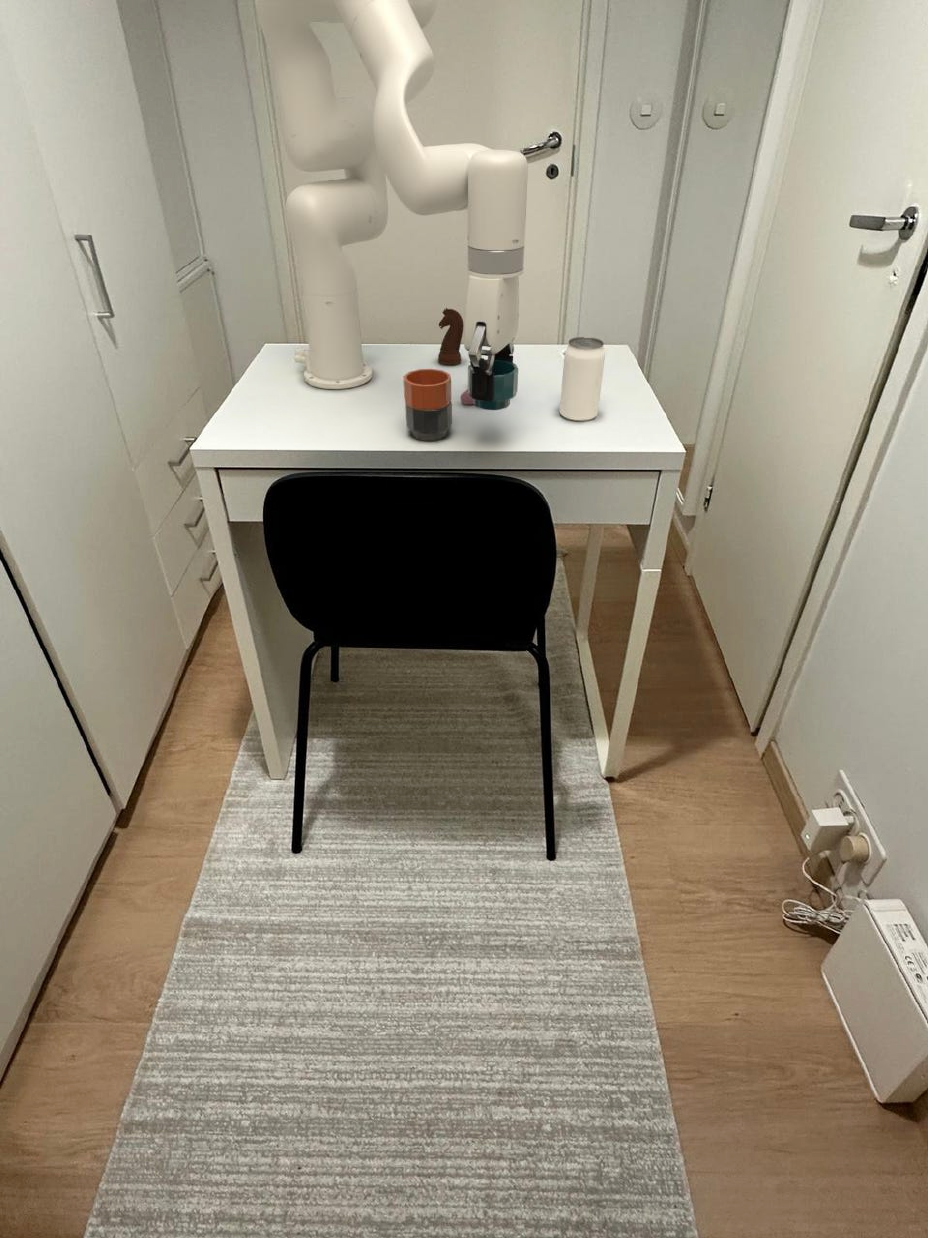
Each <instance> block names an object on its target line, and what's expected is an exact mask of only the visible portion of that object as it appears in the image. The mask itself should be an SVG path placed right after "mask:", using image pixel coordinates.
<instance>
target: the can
mask: <svg viewBox="0 0 928 1238" xmlns="http://www.w3.org/2000/svg"><path fill="white" fill-rule="evenodd" d="M604 344H605V342H604V341H603V340H602V339H600V338H596V337H592V336H577V337H576V336H575V337H572V338H570V339H569V340H568V344H567V346H566V348H565V350H564V358H563V365H562V366H563V369H562V378H561V390H560V400H559V402H560V403H559V414H560V415H561V416H562V418H564V419H566V420H569V421H573V422H589V421H591V420H593V419H595V418H596V417H597V416H598V413H599V407H600V400H601V392H602V385H603V384H602V383H603V376H604V367H605V360H606V350H605V348H604Z"/></svg>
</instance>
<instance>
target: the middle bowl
mask: <svg viewBox="0 0 928 1238" xmlns="http://www.w3.org/2000/svg"><path fill="white" fill-rule="evenodd" d="M402 377H403V397H404V405H405V404H406V405H407V406H409V407H411V408H414V409H418V410H436V409H441V408H444V407H446V406H448V405H449V404H450V403H451V401H452V377H451V374H450V373H449V372H446V371H444V370H441V369H435V368H419V369H418V368H417V369H415V370H410V371H407V373H405V374H404V375H403V376H402Z"/></svg>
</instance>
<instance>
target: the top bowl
mask: <svg viewBox="0 0 928 1238" xmlns="http://www.w3.org/2000/svg"><path fill="white" fill-rule="evenodd" d="M484 360H485V362H486V364H487V360H488V358H487V359H484ZM491 373H494V398H493V400H492V401H491V402H489V401H482V400H476V399H474V403H473V404H474V406H475V407H476V408H478V409H481V410H485V411H500V410H504V409H506V408H509V406H510V405H511V400H513V399H514V398H515V397H516V396H517V392H518V385H519V384H518V383H519V382H518V381H519V367H518V365H517V364H516V363H514V362H513V363H512V362H509V361H506V360H498V359H494V362H493V367H492V372H491ZM467 389H468V394H469V396H470V397H472V372H471V364H470V363H469V364H468V365H467Z"/></svg>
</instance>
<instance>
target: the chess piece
mask: <svg viewBox="0 0 928 1238" xmlns="http://www.w3.org/2000/svg"><path fill="white" fill-rule="evenodd" d="M441 313H442V314H443V317H442V318H441V320H440V321H439V323H438V327H439V329H441V330H443V328H444V327H448V326H449V327H448V329H447V330H446V333H445V335H444V337H443V339H442V340H441V345H440V348H439V352H438V358H437V362H438V364H439V365H440V366H441V365H442V366H445V367H454V366H458V365H460V364H461V363H462V353H461V352H460V349H461V345H462V339H463V334H464V328H465V324H464V320H463V317H462V315H461V313H460V312H459V311H457V310H455V309H453V308H448V307H445V308H443V311H441Z"/></svg>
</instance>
